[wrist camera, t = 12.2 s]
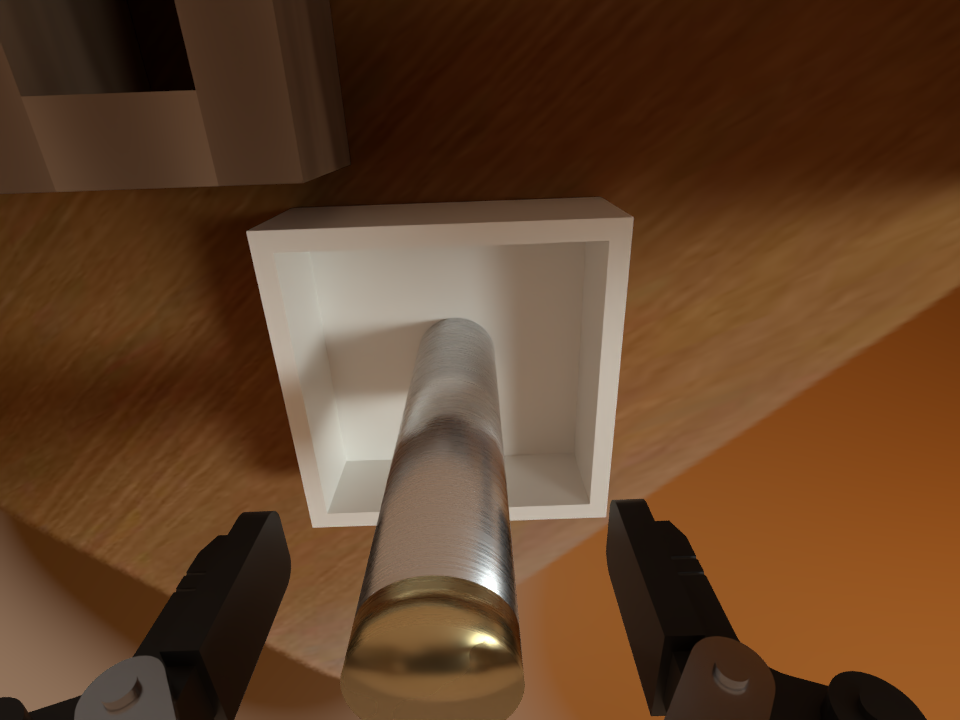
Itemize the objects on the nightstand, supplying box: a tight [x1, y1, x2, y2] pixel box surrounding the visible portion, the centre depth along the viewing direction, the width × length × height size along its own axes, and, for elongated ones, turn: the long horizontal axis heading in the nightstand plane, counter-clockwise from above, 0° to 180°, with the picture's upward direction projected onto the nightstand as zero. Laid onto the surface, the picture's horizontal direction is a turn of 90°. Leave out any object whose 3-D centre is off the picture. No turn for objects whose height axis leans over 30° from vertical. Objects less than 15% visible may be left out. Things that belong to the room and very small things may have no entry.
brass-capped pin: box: [340, 318, 525, 720], centre depth 15 cm, size 3×3×14 cm
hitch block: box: [0, 0, 351, 194], centre depth 15 cm, size 9×9×6 cm
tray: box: [246, 197, 634, 528], centre depth 20 cm, size 12×12×4 cm
